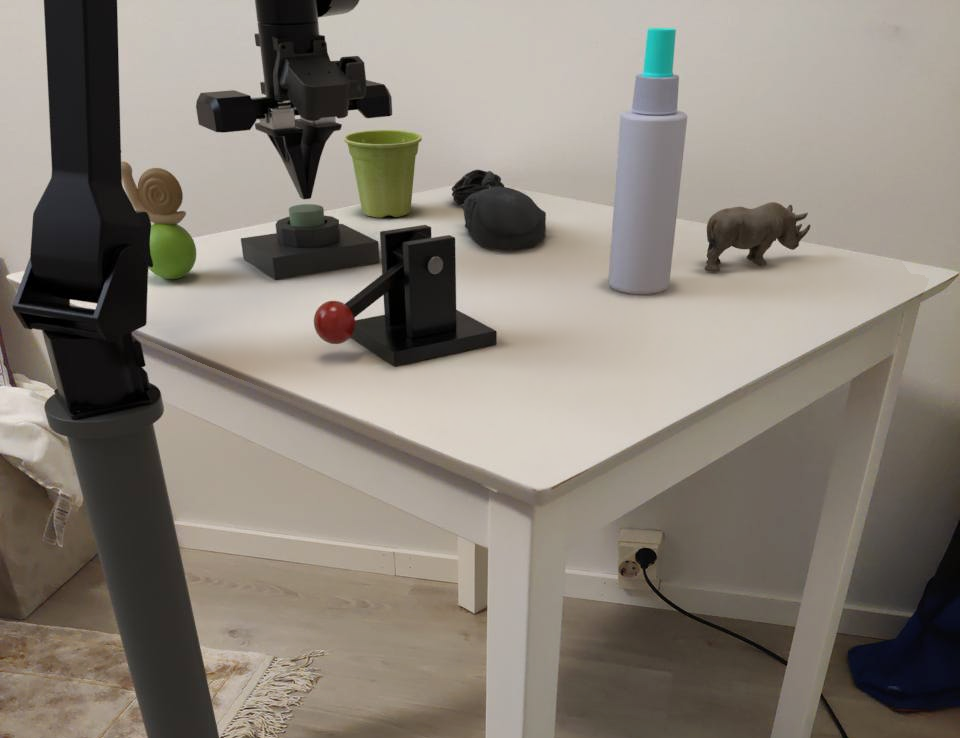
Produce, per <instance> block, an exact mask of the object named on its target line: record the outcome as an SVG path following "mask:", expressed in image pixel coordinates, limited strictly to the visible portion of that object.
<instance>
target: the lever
mask: <svg viewBox="0 0 960 738" xmlns="http://www.w3.org/2000/svg"><path fill="white" fill-rule="evenodd" d="M427 238H432V236H431V237H429V236H426V235H424V234H422V233H420V232H418V233H416V234H415V235H414V236H412V237H411V238H410V239H409V240H407V241H406V242H408V241H415V240H421V239H427ZM393 253H394V255H395V257H396V259H397V261H398V262H397V263H396V264H395V265H394V266H392V267H391V268H390V269H389V270H387V271H386V272H385V273H383V274H382V273H381V275H379V277H377V278H375V279H374V280H373V281H372V282H371V283H369V284H368V285H367V286H366V287H364V288H363V289H362V290H360V291H359V292H357V293H356V294H355V295H354V296H353V297H352V298H350V299H349V300H348V301H346V302H345V303H343V302H342V301H338V300H328V301H325V302H324V303H322V304H321V305H320V306H319V307H318V308H317V309H316V311H315V313H314V316H313V327H314V330H315V332H316V334H317V335H318V337H319V338H320V339H321V340H322V341H324V342H325V343H328V344H332V345H339V344H343V343H345V342H347V341H349V339H351V336H352V334H353V332H354V330H355V320H356V317H357V316H359V315H360V314H361V313H363V312H364V311H365V310H366V309H368V308H369V307H370V306H371V305H373V304H374V303H375V302H377V301H378V300H379V299H380V298H382V297H384V294H385V293H387V292H388V291H389V290H390V289H392V288H393V287H394V286H395V285H397V284H398V283H399V282H400V281H402V280H403V279H404V260H403V244H402V245H401V246H400V247H398V248H397V249H396V250H395V251H393Z"/></svg>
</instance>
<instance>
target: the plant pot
mask: <svg viewBox="0 0 960 738" xmlns="http://www.w3.org/2000/svg"><path fill="white" fill-rule="evenodd" d="M422 139H423V137H422V135H421V134H419V133H416V132H413V131H408V130H400V129H372V130H370V129H369V130H362V131H355V132H350V133H348V134H346V135H344V136H343V141H344V143H346V144H347V148H348V153H349V155H350V157H351V159H352V165H353V170H354V175H355V180H356V181H355V182H356V185H357V186H356V187H357V191H358V192H357V193H358V197H359V202H360V207H361V211H362V214H363V215H365V216H367V217H374V218H376V219H377V218H378V219H380V218H381V219H382V218H385V217H387V216H392V217H393V218H400V217H404V216H408V215H409V214H410V213H411V210H412V201H413V189H414V188H413V187H414V176H415V168H416V167H415V166H416V156H417V154H418V152H419V145H420V143H421V142H422Z"/></svg>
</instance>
